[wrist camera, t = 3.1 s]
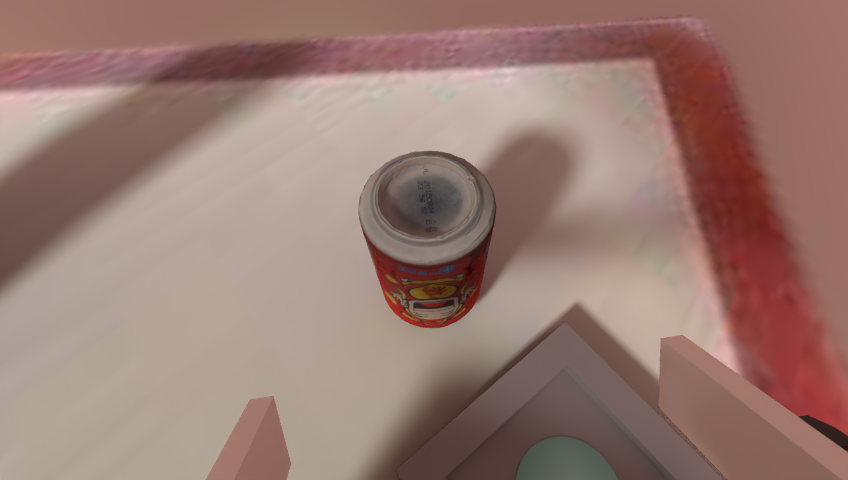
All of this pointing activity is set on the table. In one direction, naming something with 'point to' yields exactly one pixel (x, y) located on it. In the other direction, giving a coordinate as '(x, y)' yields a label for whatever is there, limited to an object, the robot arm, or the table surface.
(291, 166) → the table surface
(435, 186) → the soda can
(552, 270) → the table surface
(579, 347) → the tray
